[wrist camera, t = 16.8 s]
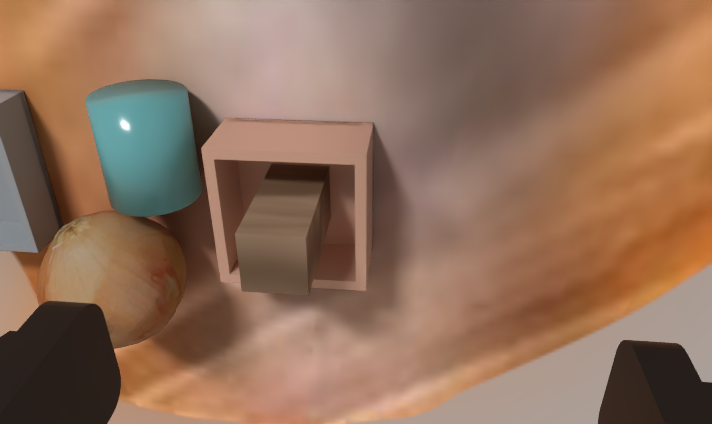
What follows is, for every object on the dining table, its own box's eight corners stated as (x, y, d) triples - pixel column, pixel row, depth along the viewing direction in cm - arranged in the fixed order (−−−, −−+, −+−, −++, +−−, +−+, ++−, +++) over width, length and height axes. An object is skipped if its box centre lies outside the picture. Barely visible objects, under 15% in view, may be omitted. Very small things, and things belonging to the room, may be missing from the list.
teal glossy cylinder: (121, 76, 40) (63, 107, 35) (203, 82, 39) (156, 115, 34) (140, 170, 44) (90, 210, 39) (217, 178, 43) (175, 221, 38)
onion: (136, 160, 43) (62, 234, 34) (231, 256, 46) (185, 346, 38) (55, 225, 47) (-29, 307, 38) (149, 310, 50) (90, 403, 41)
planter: (225, 117, 40) (201, 148, 36) (373, 122, 40) (366, 154, 35) (240, 242, 46) (220, 282, 41) (372, 249, 45) (366, 290, 40)
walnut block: (271, 164, 41) (234, 233, 33) (329, 166, 41) (305, 237, 33) (275, 214, 43) (241, 291, 35) (330, 217, 43) (308, 295, 35)
